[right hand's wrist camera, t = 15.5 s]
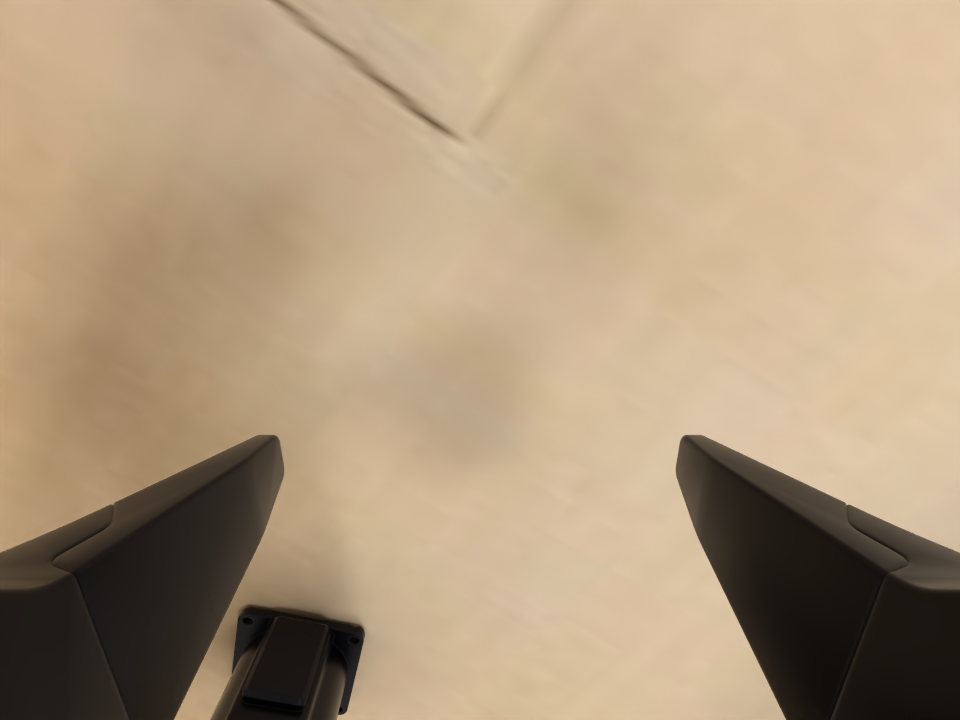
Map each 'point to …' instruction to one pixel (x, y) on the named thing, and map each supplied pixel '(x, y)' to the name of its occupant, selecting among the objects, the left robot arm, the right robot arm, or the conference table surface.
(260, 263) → the conference table surface
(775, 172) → the conference table surface
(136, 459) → the conference table surface
